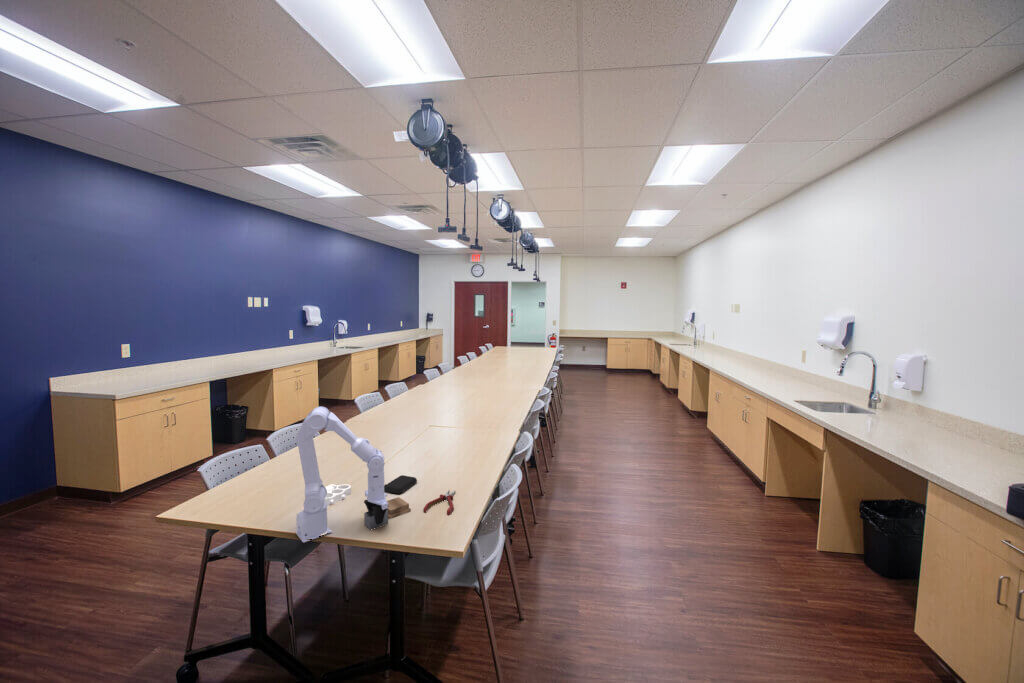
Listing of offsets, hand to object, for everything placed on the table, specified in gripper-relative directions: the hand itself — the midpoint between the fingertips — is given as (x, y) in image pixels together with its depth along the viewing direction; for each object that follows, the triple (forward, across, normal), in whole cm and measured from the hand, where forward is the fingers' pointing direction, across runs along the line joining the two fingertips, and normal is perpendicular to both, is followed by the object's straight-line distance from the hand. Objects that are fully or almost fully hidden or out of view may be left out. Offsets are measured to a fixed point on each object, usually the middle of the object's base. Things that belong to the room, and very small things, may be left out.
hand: (376, 521), depth 150 cm
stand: (+1, +5, -10) cm, 11 cm away
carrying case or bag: (+2, +24, -22) cm, 33 cm away
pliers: (+2, -4, -29) cm, 29 cm away
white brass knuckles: (+2, +33, +5) cm, 33 cm away
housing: (+2, 0, 0) cm, 2 cm away
